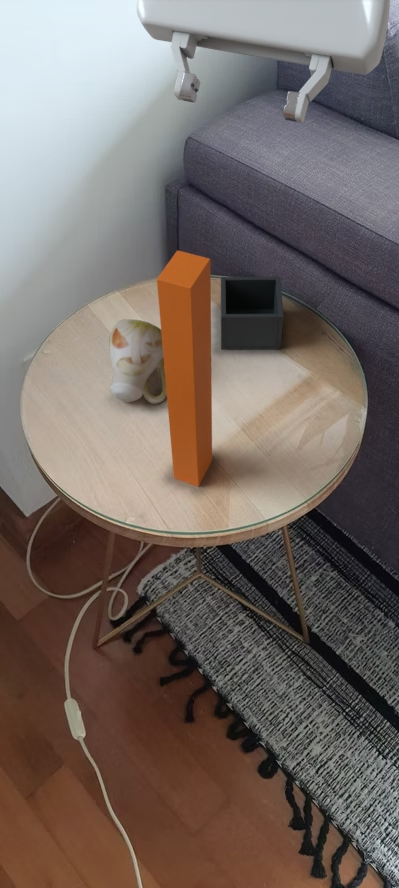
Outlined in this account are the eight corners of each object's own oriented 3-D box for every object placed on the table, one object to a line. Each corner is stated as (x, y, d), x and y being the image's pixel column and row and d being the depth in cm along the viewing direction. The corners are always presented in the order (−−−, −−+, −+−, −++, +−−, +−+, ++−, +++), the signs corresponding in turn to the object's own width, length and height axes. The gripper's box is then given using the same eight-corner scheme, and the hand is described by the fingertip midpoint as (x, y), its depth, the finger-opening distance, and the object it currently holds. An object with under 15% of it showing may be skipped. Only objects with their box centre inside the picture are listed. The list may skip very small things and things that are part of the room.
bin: (277, 309, 94) (280, 276, 89) (280, 349, 89) (283, 316, 85) (220, 309, 94) (220, 276, 90) (220, 349, 89) (221, 317, 85)
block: (212, 460, 79) (210, 258, 56) (198, 486, 76) (190, 288, 54) (188, 451, 79) (177, 250, 57) (173, 478, 77) (156, 278, 55)
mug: (97, 411, 84) (82, 330, 80) (132, 385, 92) (120, 311, 88) (153, 412, 81) (140, 329, 77) (183, 385, 89) (173, 309, 85)
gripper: (148, -115, 53) (108, 72, 56) (412, -85, 49) (355, 118, 51) (173, -67, 59) (136, 100, 62) (410, -36, 55) (359, 143, 57)
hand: (237, 109), depth 57 cm, fingers open, 8 cm apart
